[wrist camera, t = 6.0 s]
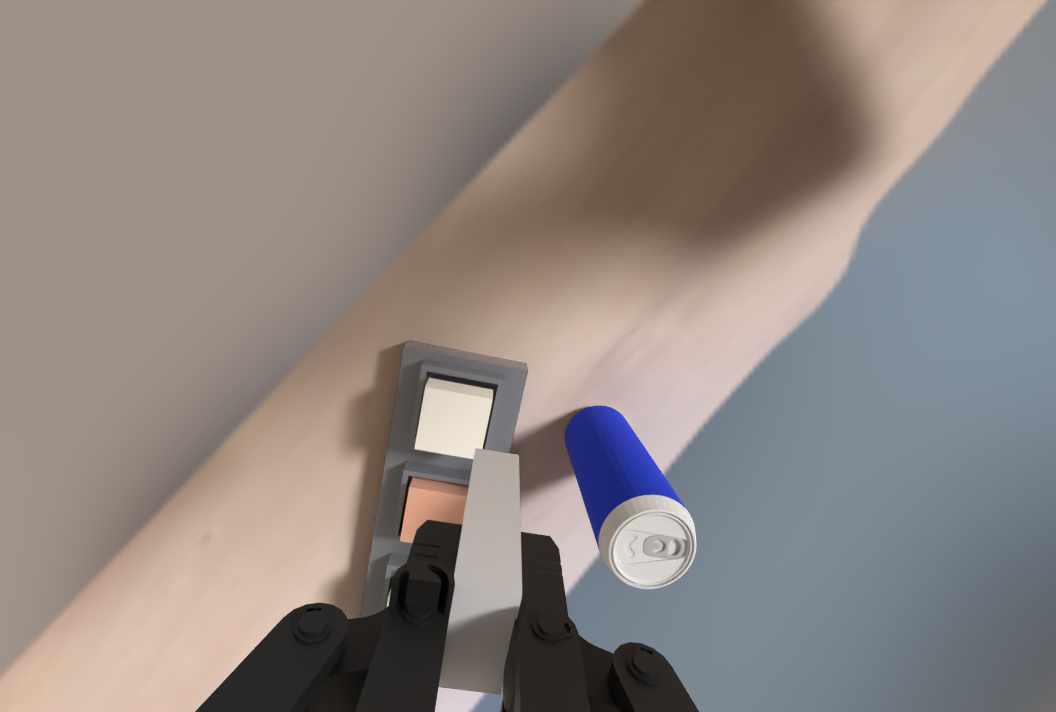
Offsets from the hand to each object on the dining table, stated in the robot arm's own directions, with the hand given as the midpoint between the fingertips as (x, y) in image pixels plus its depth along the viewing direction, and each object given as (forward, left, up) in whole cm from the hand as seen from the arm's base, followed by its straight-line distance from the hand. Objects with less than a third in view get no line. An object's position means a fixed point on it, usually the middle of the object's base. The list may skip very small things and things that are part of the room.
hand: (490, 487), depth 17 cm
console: (+9, +10, -21) cm, 25 cm away
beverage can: (-5, +10, -21) cm, 24 cm away
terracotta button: (+9, +9, -19) cm, 22 cm away
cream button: (+4, +2, -17) cm, 18 cm away
